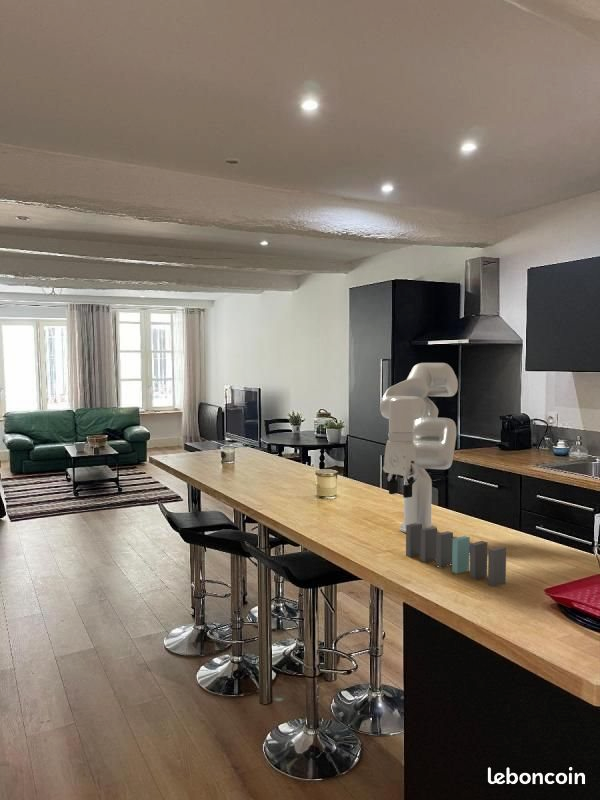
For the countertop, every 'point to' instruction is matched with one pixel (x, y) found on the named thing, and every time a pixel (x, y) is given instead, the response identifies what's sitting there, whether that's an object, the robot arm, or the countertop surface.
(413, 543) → the tile
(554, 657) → the countertop surface
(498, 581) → the tile
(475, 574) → the tile
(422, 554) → the tile
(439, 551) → the tile
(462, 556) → the tile
